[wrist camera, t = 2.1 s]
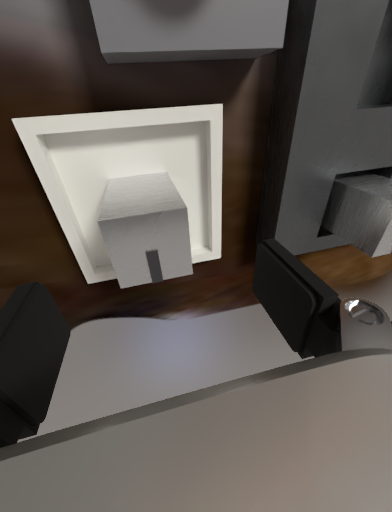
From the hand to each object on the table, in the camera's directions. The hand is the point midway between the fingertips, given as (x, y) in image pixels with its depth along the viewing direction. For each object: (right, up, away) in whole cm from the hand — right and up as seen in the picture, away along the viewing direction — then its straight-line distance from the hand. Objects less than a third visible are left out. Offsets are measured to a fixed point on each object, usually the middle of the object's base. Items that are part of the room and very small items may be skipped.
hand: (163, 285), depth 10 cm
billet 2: (+14, +7, +10) cm, 19 cm away
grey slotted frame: (+14, +11, +8) cm, 19 cm away
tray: (-3, +6, +7) cm, 9 cm away
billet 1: (-2, +5, +7) cm, 9 cm away
